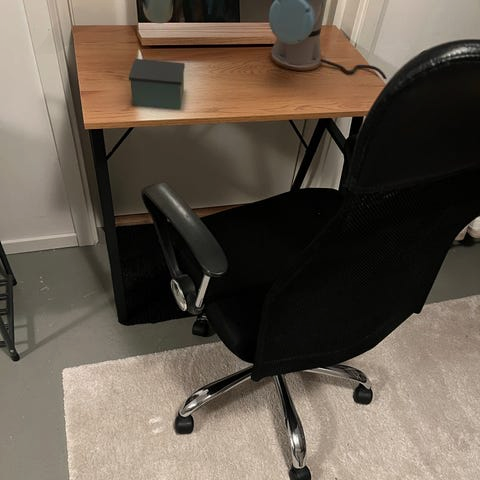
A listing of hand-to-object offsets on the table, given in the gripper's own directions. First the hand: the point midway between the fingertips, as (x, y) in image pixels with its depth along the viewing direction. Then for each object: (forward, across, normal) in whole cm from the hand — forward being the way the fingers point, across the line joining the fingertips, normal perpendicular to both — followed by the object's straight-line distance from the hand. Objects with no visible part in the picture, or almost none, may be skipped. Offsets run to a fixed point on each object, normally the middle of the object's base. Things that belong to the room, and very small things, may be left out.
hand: (159, 10), depth 112 cm
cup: (0, 0, -5) cm, 5 cm away
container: (+18, +2, -5) cm, 19 cm away
